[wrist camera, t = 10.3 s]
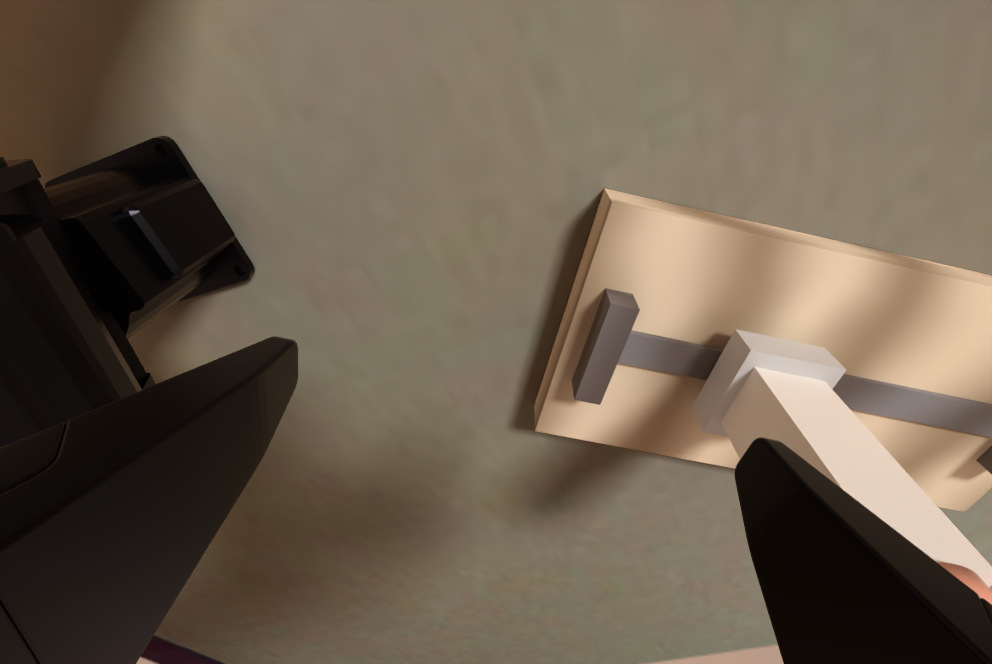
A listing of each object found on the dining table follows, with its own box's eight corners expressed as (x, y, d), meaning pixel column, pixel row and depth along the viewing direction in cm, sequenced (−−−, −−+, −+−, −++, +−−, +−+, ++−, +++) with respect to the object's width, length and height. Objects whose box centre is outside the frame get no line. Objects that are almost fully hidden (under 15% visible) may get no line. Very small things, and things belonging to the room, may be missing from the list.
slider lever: (691, 408, 22) (813, 669, 13) (735, 329, 20) (921, 577, 11) (772, 423, 22) (948, 691, 13) (824, 347, 20) (1082, 606, 11)
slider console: (534, 405, 26) (535, 451, 23) (604, 188, 20) (618, 213, 17) (937, 482, 27) (986, 534, 25) (1119, 303, 21) (1214, 345, 18)
